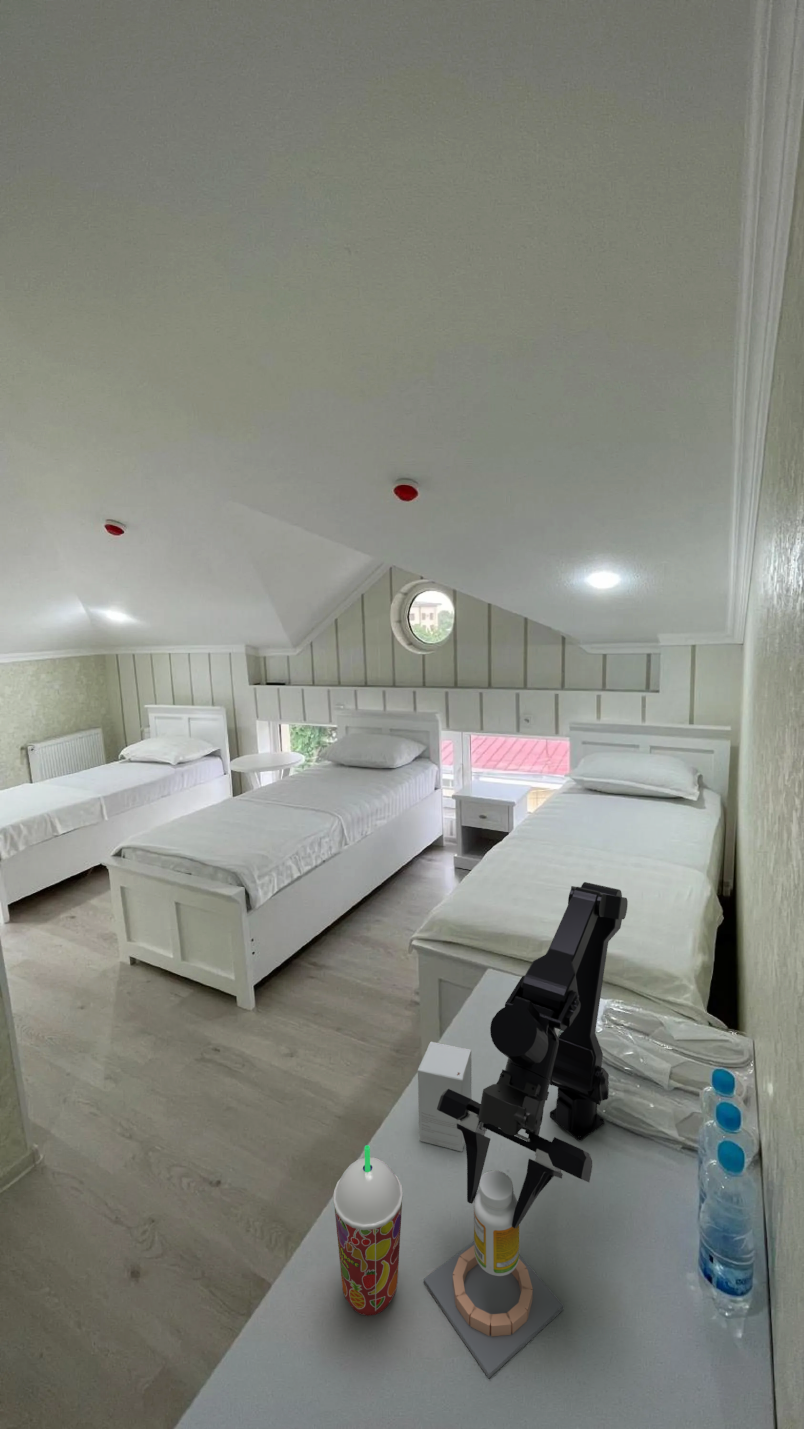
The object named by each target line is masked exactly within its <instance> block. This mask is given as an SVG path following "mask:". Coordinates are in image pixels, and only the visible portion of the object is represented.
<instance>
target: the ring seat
mask: <svg viewBox="0 0 804 1429" xmlns="http://www.w3.org/2000/svg"><path fill="white" fill-rule="evenodd" d="M423 1284H424V1285H425V1287H426V1289H427V1290H428V1292H429V1294H430V1295H431V1296H432V1298H433V1299H434V1300H435V1302H436V1303H437V1306H439V1308H440V1309H441V1311H442V1312H443V1314H444V1315H445V1316H446V1318H447V1319H448V1321H449V1323H450V1324H451V1326H452V1327H453V1329H454V1330H455V1331H456V1333H457V1334H458V1335H459V1337H460V1339H461V1340H462V1342H463V1343H464V1344H465V1345H466V1348H467V1349H468V1350H469V1352H470V1353H471V1354H472V1356H473V1358H474V1359H475V1361H476V1363H478V1366H480V1368H481V1369H482V1371H483V1372H484V1374H485V1375H486V1377H487V1378H488V1379H490V1378H491V1377H492V1376H494V1375H495V1374H496V1373H497V1372H498V1371H499V1370H500V1369H501V1368H502V1367H503V1366H505V1364H507V1363H508V1362H509V1360H511V1359H512V1358H513V1357H514V1356H516V1355H517V1353H518V1352H520V1350H521V1349H523V1348H524V1347H525V1346H526V1345H527V1344H528V1343H529V1342H530V1341H531V1340H532V1339H533V1338H534V1337H536V1336H537V1335H538V1334H539V1333H540V1332H541V1331H542V1330H543V1329H544V1328H546V1326H547V1325H548V1324H549V1323H550V1322H552V1321H553V1320H554V1319H555V1318H556V1317H557V1316H558V1315H560V1313H561V1312H563V1311H564V1304H563V1303H562V1302H561V1301H560V1299H559V1298H558V1297H557V1296H556V1295H555V1294H554V1292H553V1291H552V1290H551V1289H550V1288H549V1286H548V1285H547V1284H546V1283H545V1282H544V1280H542V1279H541V1278H540V1276H539V1275H538V1274H537V1273H536V1271H534V1269H533V1268H532V1266H530V1265H529V1264H528V1262H527V1261H526V1260H525V1259H524V1258H523V1257H522V1256H521V1254H520V1253H519V1261H518V1264H517V1266H516V1268H515V1269H514V1270H513V1271H512V1272H511V1273H509V1274H507V1275H504V1276H495V1275H491V1274H489V1273H487V1272H486V1271H484V1270H483V1269H482V1268H481V1267H480V1265H479V1264H478V1262H477V1260H476V1257H475V1250H474V1240H473V1241H472V1242H470V1244H468V1245H467V1246H465V1247H464V1248H462V1249H461V1250H460V1251H459V1252H457V1253H456V1254H455V1255H454V1256H452V1257H451V1258H449V1259H448V1260H447V1261H446V1262H444V1263H442V1264H441V1265H440V1266H439V1267H438V1268H437V1267H436V1268H435V1269H434V1270H433V1271H431V1273H429V1274H428V1275H426V1276H425V1277H424V1278H423Z"/></svg>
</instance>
